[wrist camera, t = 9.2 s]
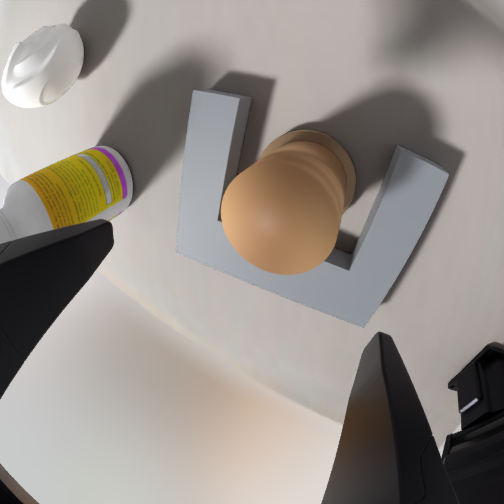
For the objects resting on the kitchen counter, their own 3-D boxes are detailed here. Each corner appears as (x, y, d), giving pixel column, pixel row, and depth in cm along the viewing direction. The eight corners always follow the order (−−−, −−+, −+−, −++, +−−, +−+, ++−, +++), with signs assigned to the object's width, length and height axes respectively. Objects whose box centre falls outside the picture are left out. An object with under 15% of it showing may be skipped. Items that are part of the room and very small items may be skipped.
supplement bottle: (98, 129, 21) (-31, 185, 11) (146, 173, 21) (10, 254, 11) (82, 184, 25) (-21, 246, 15) (123, 225, 25) (20, 306, 15)
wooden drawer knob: (369, 149, 15) (374, 183, 9) (337, 233, 18) (320, 302, 13) (273, 117, 16) (221, 132, 10) (253, 202, 20) (203, 254, 14)
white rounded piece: (110, 23, 15) (31, 24, 9) (93, 104, 20) (18, 126, 14) (62, 24, 16) (-4, 31, 10) (50, 92, 20) (-12, 110, 14)
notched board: (440, 165, 14) (449, 174, 12) (365, 309, 21) (363, 327, 19) (209, 89, 16) (193, 90, 15) (189, 240, 23) (176, 252, 22)
